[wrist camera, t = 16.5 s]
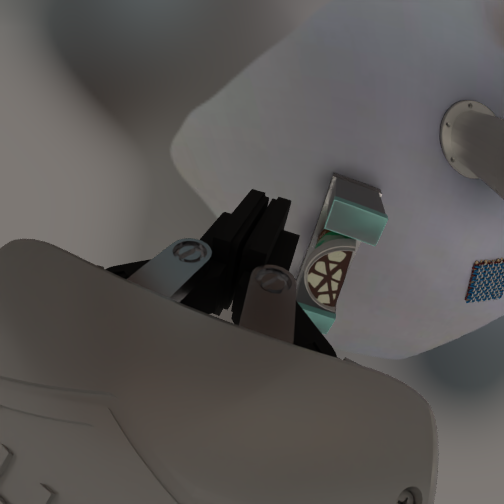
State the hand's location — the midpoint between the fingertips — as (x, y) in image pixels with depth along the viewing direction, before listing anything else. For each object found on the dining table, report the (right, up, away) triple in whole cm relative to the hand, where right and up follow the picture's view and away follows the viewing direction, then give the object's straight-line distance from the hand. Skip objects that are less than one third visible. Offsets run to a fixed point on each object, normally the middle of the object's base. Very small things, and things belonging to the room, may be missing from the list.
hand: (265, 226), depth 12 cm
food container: (+12, +1, +34) cm, 36 cm away
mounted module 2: (+15, +7, +28) cm, 32 cm away
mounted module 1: (+12, -7, +39) cm, 42 cm away
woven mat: (+48, -6, +28) cm, 56 cm away
